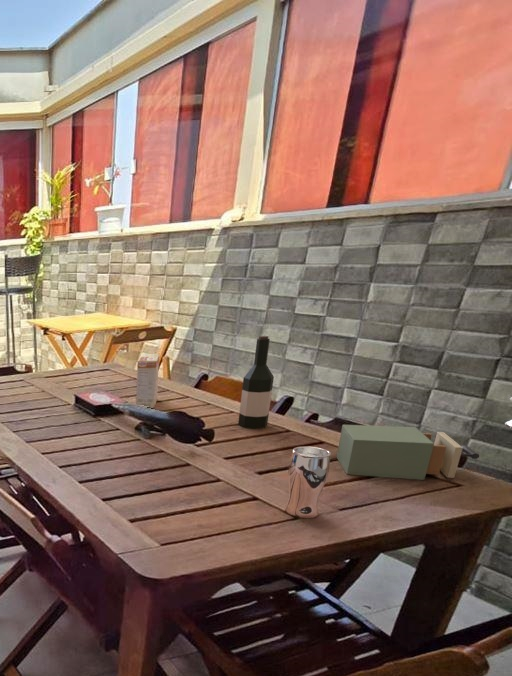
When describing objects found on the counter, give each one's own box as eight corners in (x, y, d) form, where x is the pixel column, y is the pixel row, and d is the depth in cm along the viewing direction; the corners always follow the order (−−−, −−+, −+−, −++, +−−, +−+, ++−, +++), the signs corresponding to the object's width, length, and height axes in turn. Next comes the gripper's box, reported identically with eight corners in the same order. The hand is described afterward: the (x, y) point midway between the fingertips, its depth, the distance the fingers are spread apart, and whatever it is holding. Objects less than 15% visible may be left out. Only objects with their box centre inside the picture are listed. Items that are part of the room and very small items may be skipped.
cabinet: (407, 461, 130) (415, 427, 126) (424, 480, 120) (434, 443, 116) (336, 457, 137) (342, 424, 134) (346, 474, 127) (353, 439, 124)
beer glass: (311, 505, 114) (322, 445, 109) (326, 519, 108) (338, 457, 103) (277, 504, 116) (286, 446, 111) (289, 518, 110) (299, 457, 105)
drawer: (458, 462, 124) (466, 433, 122) (478, 479, 115) (488, 448, 113) (367, 456, 133) (373, 429, 130) (379, 472, 124) (385, 443, 121)
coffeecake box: (139, 398, 211) (141, 353, 205) (157, 399, 208) (160, 353, 201) (134, 408, 199) (136, 360, 193) (154, 408, 196) (156, 360, 189)
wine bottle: (240, 428, 165) (250, 339, 155) (236, 421, 172) (245, 335, 162) (269, 429, 162) (282, 337, 152) (264, 421, 169) (276, 333, 159)
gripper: (550, 367, 114) (478, 405, 122) (610, 389, 98) (522, 432, 106) (572, 386, 114) (498, 423, 122) (636, 412, 97) (545, 453, 105)
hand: (509, 428), depth 114 cm, fingers closed
